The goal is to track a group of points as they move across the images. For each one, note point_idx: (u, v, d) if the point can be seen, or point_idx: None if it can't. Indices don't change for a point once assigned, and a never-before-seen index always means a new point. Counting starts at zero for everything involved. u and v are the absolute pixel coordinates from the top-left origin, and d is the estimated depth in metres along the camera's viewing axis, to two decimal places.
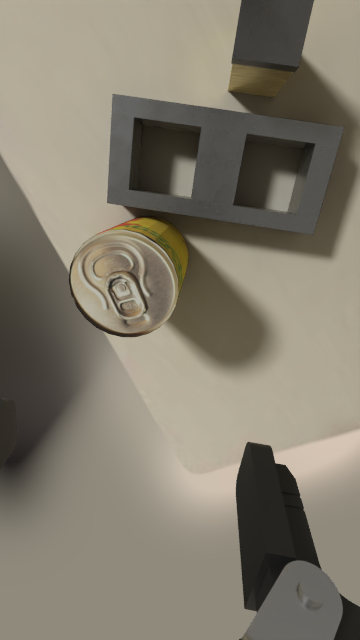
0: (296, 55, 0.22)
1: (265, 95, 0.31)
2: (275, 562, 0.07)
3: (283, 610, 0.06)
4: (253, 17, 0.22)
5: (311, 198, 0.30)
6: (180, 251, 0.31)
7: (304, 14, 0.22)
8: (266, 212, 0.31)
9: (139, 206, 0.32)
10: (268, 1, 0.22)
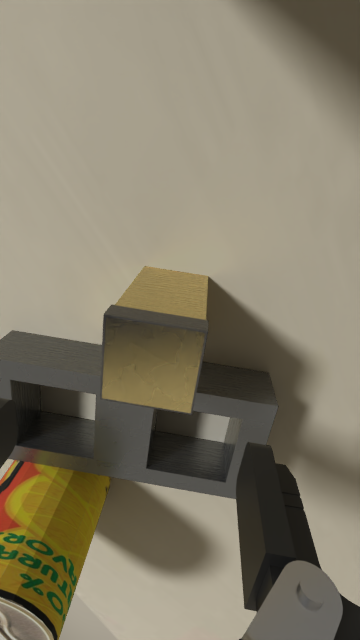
0: (187, 404, 0.16)
1: None
2: (275, 562, 0.07)
3: (283, 610, 0.06)
4: (122, 362, 0.15)
5: None
6: (80, 525, 0.25)
7: (192, 365, 0.15)
8: (188, 477, 0.25)
9: (31, 461, 0.25)
10: (140, 348, 0.15)
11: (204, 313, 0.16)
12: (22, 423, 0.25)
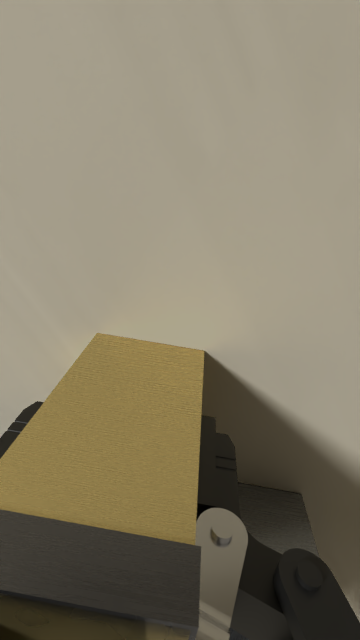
0: None
1: None
2: (198, 510, 0.08)
3: None
4: None
5: None
6: None
7: None
8: None
9: None
10: None
11: (192, 500, 0.07)
12: None
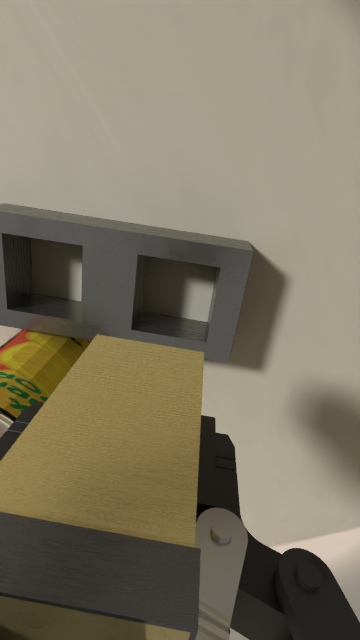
0: None
1: None
2: (198, 510, 0.08)
3: None
4: None
5: (222, 325, 0.25)
6: None
7: None
8: (171, 338, 0.26)
9: (22, 327, 0.27)
10: None
11: (192, 502, 0.07)
12: (13, 291, 0.27)
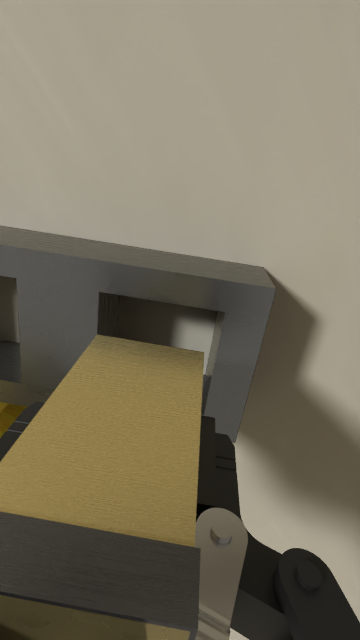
0: None
1: None
2: (198, 510, 0.08)
3: None
4: None
5: (226, 393, 0.17)
6: None
7: None
8: None
9: None
10: None
11: (192, 502, 0.07)
12: None
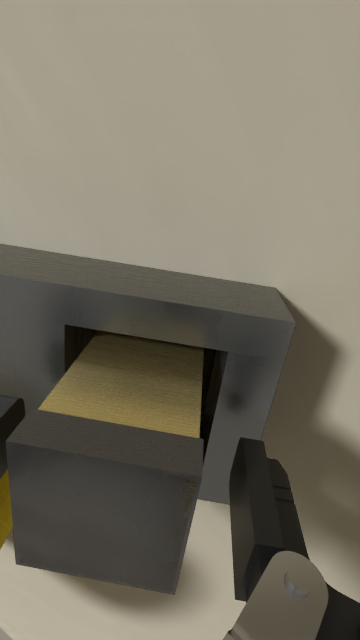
0: (166, 579, 0.09)
1: None
2: (264, 553, 0.08)
3: (270, 598, 0.06)
4: (47, 516, 0.09)
5: (230, 449, 0.13)
6: None
7: (174, 526, 0.08)
8: None
9: None
10: (77, 496, 0.08)
11: (197, 416, 0.10)
12: None
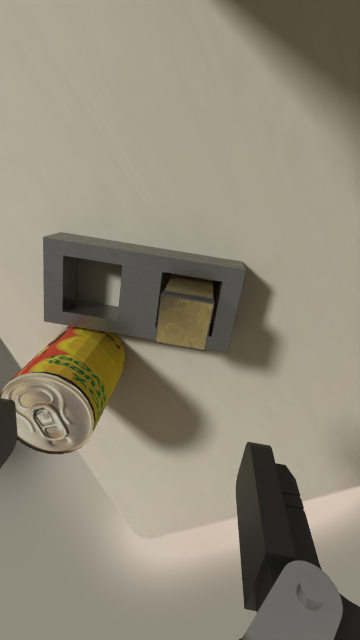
0: (202, 344, 0.29)
1: None
2: (275, 562, 0.07)
3: (283, 610, 0.06)
4: (168, 320, 0.29)
5: (223, 324, 0.34)
6: (107, 368, 0.35)
7: (206, 321, 0.29)
8: None
9: (72, 325, 0.35)
10: (178, 312, 0.29)
11: (212, 296, 0.30)
12: (66, 297, 0.36)
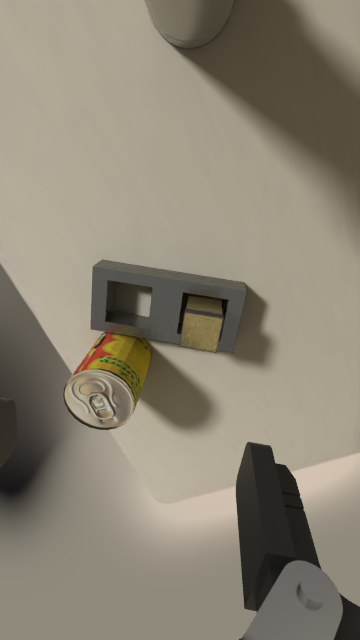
0: (214, 347, 0.40)
1: None
2: (275, 562, 0.07)
3: (283, 610, 0.06)
4: (189, 330, 0.39)
5: (229, 331, 0.44)
6: (140, 365, 0.45)
7: (217, 331, 0.39)
8: None
9: (112, 332, 0.46)
10: (197, 325, 0.39)
11: (221, 311, 0.40)
12: (107, 310, 0.46)
